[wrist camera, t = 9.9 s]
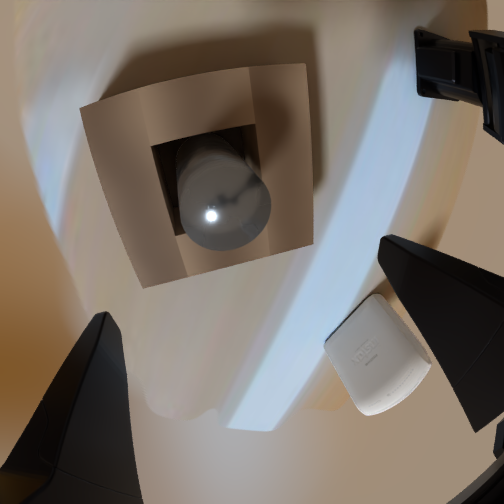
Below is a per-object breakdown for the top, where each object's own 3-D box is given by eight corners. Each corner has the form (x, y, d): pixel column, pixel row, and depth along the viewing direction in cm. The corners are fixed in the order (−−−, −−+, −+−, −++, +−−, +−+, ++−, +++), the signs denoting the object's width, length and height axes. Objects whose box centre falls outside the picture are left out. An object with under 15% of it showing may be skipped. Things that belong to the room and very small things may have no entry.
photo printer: (371, 287, 31) (433, 367, 22) (387, 296, 34) (443, 368, 24) (316, 345, 35) (358, 426, 25) (336, 349, 37) (376, 422, 27)
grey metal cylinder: (229, 127, 18) (266, 158, 11) (237, 181, 20) (274, 239, 14) (169, 140, 17) (170, 180, 11) (182, 194, 20) (192, 260, 13)
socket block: (279, 65, 16) (305, 63, 13) (292, 217, 23) (313, 244, 20) (97, 102, 14) (79, 108, 11) (144, 254, 21) (142, 288, 18)
